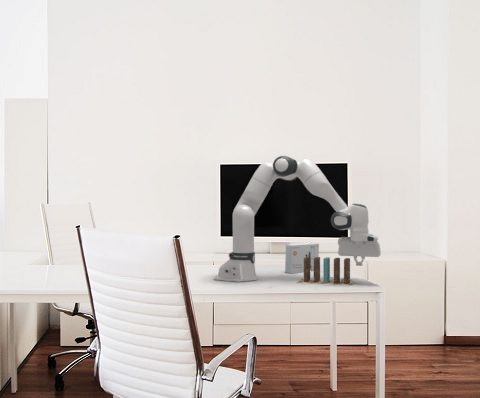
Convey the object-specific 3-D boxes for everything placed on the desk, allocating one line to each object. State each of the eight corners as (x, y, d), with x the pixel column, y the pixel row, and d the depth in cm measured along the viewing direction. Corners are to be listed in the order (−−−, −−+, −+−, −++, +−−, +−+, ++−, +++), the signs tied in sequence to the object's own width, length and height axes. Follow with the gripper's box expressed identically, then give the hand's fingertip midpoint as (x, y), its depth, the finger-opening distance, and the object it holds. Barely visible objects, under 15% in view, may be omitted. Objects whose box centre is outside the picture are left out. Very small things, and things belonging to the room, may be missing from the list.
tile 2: (333, 283, 312) (333, 259, 311) (335, 281, 317) (336, 257, 317) (337, 283, 311) (337, 259, 311) (340, 281, 317) (340, 257, 316)
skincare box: (291, 274, 351) (291, 245, 351) (284, 272, 356) (284, 244, 355) (319, 270, 364) (319, 243, 364) (312, 269, 368) (312, 242, 368)
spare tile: (329, 281, 318) (329, 257, 318) (327, 283, 313) (327, 258, 312) (325, 281, 319) (325, 257, 319) (323, 283, 313) (323, 258, 313)
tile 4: (313, 282, 315) (313, 258, 315) (316, 280, 321) (316, 256, 320) (317, 282, 314) (317, 258, 314) (320, 280, 320) (320, 257, 320)
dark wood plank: (303, 282, 317) (303, 257, 316) (306, 280, 322) (306, 256, 322) (307, 282, 316) (307, 258, 316) (310, 280, 322) (310, 256, 321)
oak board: (296, 284, 315) (296, 282, 315) (302, 280, 326) (302, 279, 326) (351, 287, 306) (351, 285, 306) (355, 283, 317) (355, 281, 317)
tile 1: (343, 284, 310) (343, 259, 310) (346, 282, 316) (346, 258, 315) (348, 284, 309) (348, 259, 309) (350, 282, 315) (350, 258, 315)
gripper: (336, 237, 310) (336, 265, 311) (379, 238, 304) (379, 267, 304) (339, 236, 316) (339, 264, 317) (381, 237, 310) (381, 265, 310)
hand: (359, 265), depth 310 cm, fingers closed
